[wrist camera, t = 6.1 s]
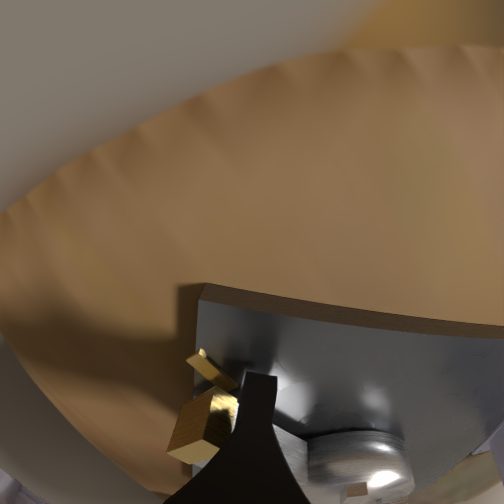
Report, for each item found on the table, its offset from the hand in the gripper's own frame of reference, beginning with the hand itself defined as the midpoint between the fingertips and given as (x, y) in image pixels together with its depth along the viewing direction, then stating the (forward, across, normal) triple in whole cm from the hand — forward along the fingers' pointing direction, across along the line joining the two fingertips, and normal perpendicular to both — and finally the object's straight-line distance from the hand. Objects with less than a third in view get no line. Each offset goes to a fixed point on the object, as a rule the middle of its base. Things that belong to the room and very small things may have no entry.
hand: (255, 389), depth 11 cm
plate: (+2, -8, +7) cm, 11 cm away
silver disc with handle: (+1, -4, +6) cm, 7 cm away
